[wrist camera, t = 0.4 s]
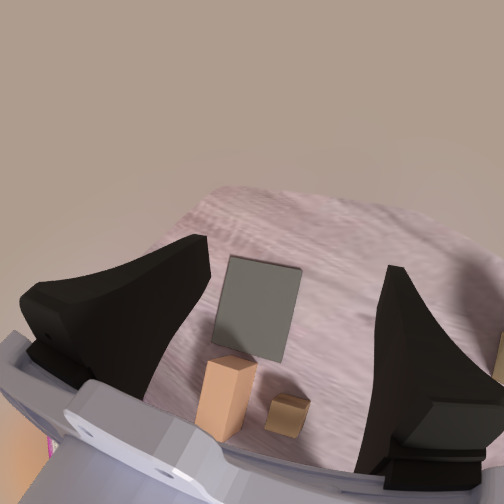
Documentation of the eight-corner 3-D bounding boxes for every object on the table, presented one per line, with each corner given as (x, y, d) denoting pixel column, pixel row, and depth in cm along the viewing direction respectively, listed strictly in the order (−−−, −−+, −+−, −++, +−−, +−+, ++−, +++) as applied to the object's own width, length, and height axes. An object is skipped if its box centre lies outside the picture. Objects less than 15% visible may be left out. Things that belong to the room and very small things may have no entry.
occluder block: (241, 428, 39) (220, 444, 33) (216, 418, 41) (192, 432, 35) (258, 363, 40) (238, 370, 34) (230, 354, 42) (208, 360, 36)
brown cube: (302, 427, 36) (295, 438, 33) (272, 419, 38) (263, 428, 34) (310, 400, 37) (304, 409, 33) (280, 392, 38) (270, 399, 35)
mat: (281, 362, 39) (280, 362, 39) (212, 341, 43) (211, 342, 42) (302, 270, 40) (301, 270, 40) (232, 257, 44) (230, 256, 44)
